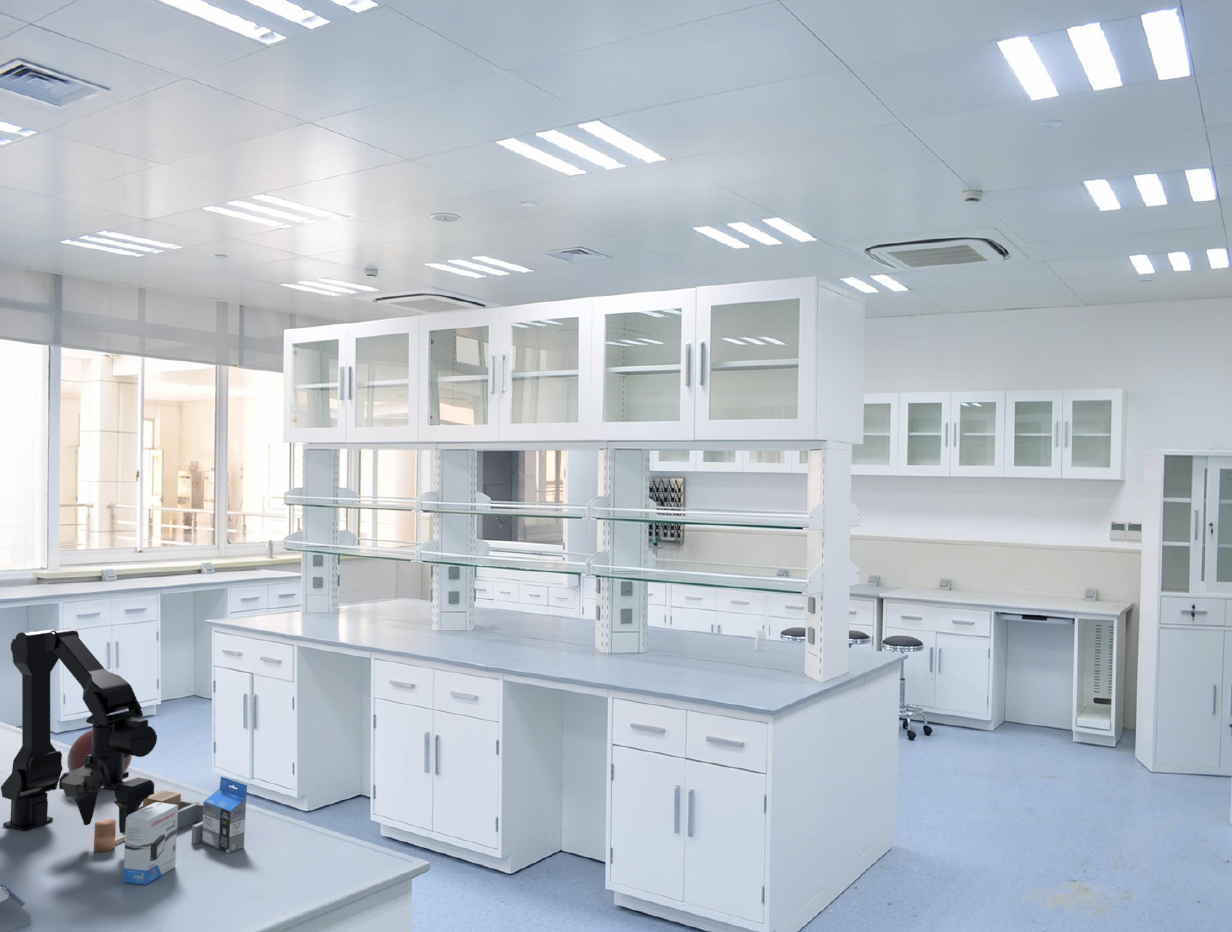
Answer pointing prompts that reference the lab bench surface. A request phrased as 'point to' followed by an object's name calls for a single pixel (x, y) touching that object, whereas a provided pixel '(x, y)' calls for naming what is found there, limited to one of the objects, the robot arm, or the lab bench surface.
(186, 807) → the shelf lane
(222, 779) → the ink cartridge box
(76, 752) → the round-bottom flask
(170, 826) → the ink box
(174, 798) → the brown elongated piece
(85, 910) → the lab bench surface
